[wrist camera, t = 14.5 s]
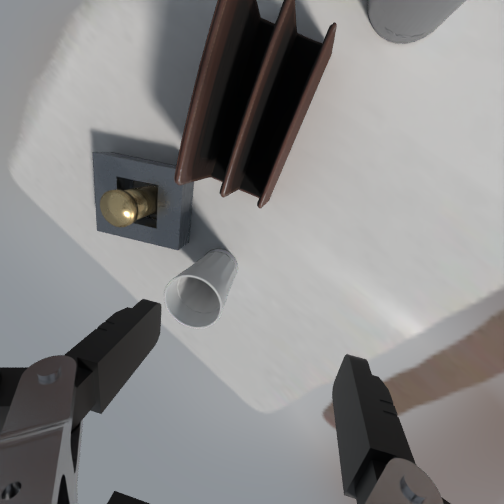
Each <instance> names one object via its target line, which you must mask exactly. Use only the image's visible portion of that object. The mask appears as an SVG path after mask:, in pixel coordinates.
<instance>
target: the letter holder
mask: <svg viewBox="0 0 504 504" xmlns="http://www.w3.org/2000/svg"><path fill="white" fill-rule="evenodd" d="M336 27H337V26H336V23H335V22H334V23H333V24H332V25H330V27H329V29H328V31H327V34H326V36H325V39H324V41H323V44H322V43H319V42H316V41H314V40H312V39H309V38H307V37H305V36H303V35H301V34H298V33H297V28H296V11H295V0H284V2H283V4H282V7H281V10H280V13H279V16H278V18H277V21H276V23H275V24H274V23H271V22H269V21H267V20H265V19H262V18H261V17H260V13H259V9H258V5H257V1H256V0H218V2H217V5H216V8H215V12H214V15H213V19H212V22H211V26H210V29H209V33H208V36H207V40H206V44H205V47H204V51H203V54H202V58H201V62H200V65H199V70H198V74H197V78H196V82H195V86H194V90H193V95H192V98H191V103H190V107H189V111H188V115H187V120H186V124H185V128H184V133H183V136H182V141H181V146H180V150H179V156H178V161H177V166H176V170H175V176H174V180H175V183H176V184H178V185H184V184H187V183H190V182H193V181H197V180H201V179H204V178H208V177H212V178H214V179H216V180H219V181H221V182H223V183H222V186H221V189H220V194H221V196H222V197H226V196H227V195H229V194H231V193H233V192H234V191H236V190H241V191H244V192H246V193H249V194H251V195H253V196H256V197H258V198H259V200H258V203H257V206H258V207H259V208H262V207H263V206H264V205H265V204H266V203H267V202H268V201H269V199H270V197H271V194H272V192H273V190H274V187H275V185H276V183H277V180H278V178H279V176H280V173H281V171H282V169H283V166H284V164H285V162H286V159H287V157H288V155H289V152H290V150H291V147H292V145H293V143H294V140H295V138H296V136H297V133H298V131H299V129H300V126H301V124H302V122H303V119H304V117H305V115H306V112H307V110H308V108H309V105H310V103H311V101H312V98H313V96H314V94H315V91H316V89H317V86H318V84H319V82H320V79H321V77H322V75H323V72H324V70H325V68H326V65H327V63H328V61H329V59H330V57H331V54H332V48H333V43H334V37H335V32H336Z"/></svg>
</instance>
